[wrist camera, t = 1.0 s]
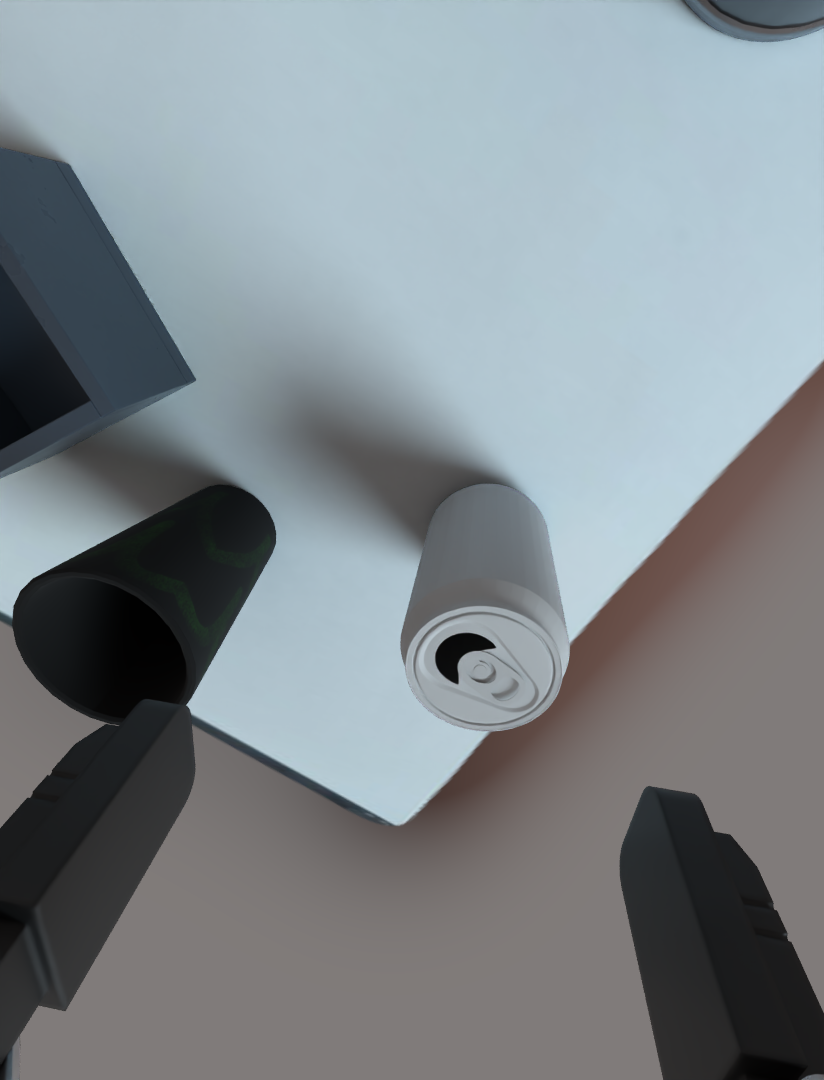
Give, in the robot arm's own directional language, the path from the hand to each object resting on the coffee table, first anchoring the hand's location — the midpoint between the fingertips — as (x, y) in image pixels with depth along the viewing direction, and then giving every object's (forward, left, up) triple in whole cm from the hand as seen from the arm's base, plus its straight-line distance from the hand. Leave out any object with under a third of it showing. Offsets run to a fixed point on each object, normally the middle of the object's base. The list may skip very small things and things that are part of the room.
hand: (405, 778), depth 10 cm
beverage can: (+1, +5, -22) cm, 22 cm away
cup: (+15, -1, -22) cm, 26 cm away
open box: (+17, -14, -21) cm, 31 cm away
